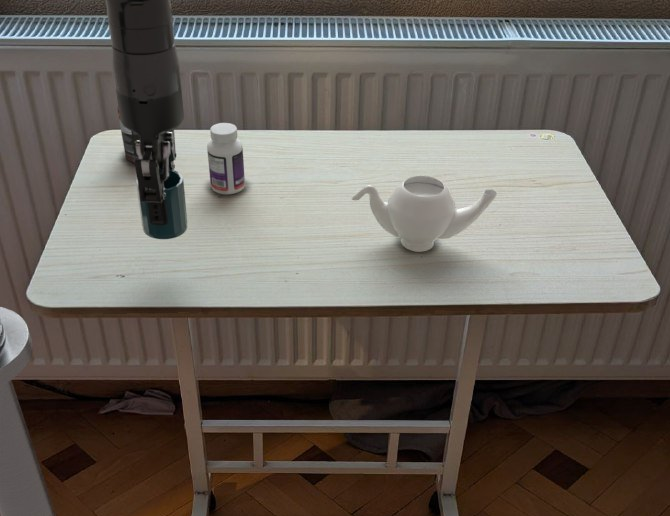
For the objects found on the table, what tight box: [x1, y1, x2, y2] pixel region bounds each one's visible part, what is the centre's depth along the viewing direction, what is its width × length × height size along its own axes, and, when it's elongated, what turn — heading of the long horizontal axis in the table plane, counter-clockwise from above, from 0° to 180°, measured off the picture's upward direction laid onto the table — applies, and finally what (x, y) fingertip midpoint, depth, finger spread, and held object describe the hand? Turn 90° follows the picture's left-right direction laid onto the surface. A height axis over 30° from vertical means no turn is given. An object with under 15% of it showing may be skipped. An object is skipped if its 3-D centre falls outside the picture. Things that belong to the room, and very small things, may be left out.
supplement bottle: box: [117, 107, 140, 163], centre depth 134 cm, size 6×6×11 cm
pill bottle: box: [206, 122, 246, 195], centre depth 128 cm, size 5×5×10 cm
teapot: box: [350, 175, 497, 253], centre depth 118 cm, size 10×20×9 cm, turn 82°
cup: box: [135, 169, 188, 240], centre depth 107 cm, size 6×6×7 cm
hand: (163, 210), depth 108 cm, fingers closed on cup, 5 cm apart
